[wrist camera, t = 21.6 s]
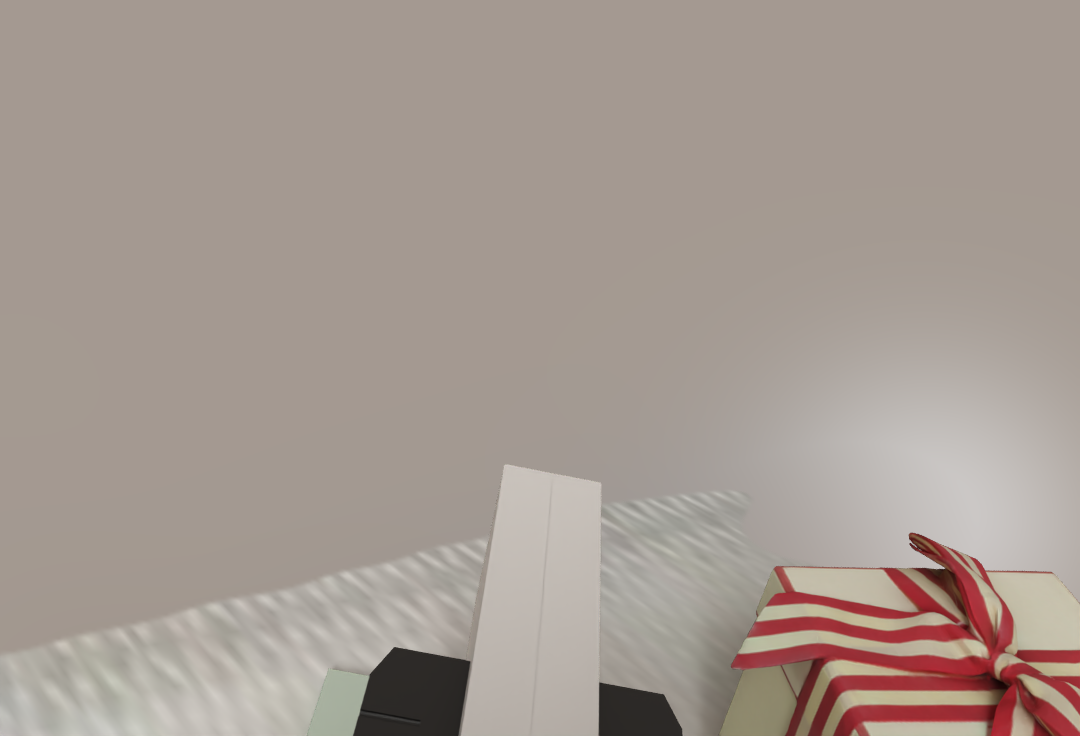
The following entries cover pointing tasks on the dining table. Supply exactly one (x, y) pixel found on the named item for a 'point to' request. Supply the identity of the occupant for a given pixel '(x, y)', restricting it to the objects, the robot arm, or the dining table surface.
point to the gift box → (910, 653)
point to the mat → (338, 704)
